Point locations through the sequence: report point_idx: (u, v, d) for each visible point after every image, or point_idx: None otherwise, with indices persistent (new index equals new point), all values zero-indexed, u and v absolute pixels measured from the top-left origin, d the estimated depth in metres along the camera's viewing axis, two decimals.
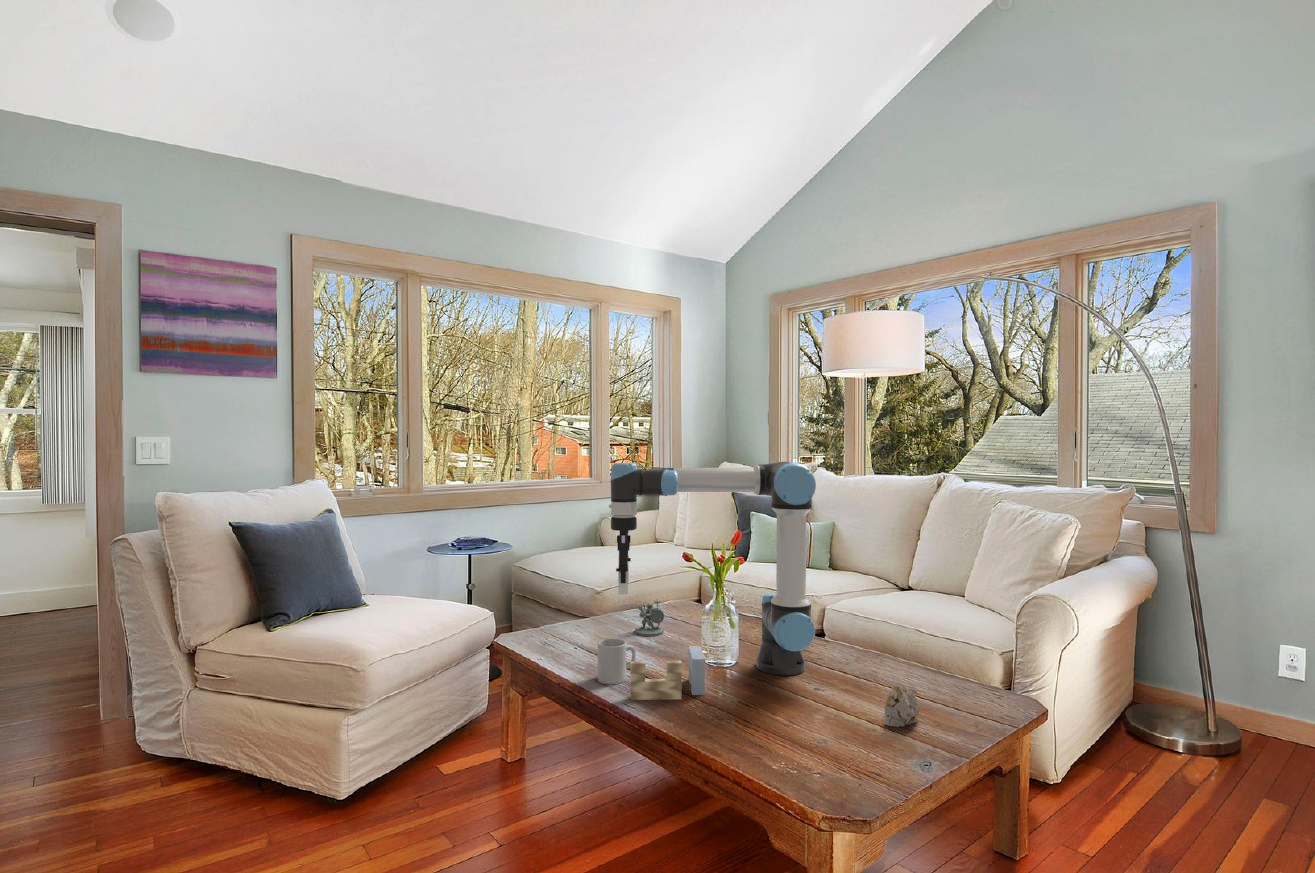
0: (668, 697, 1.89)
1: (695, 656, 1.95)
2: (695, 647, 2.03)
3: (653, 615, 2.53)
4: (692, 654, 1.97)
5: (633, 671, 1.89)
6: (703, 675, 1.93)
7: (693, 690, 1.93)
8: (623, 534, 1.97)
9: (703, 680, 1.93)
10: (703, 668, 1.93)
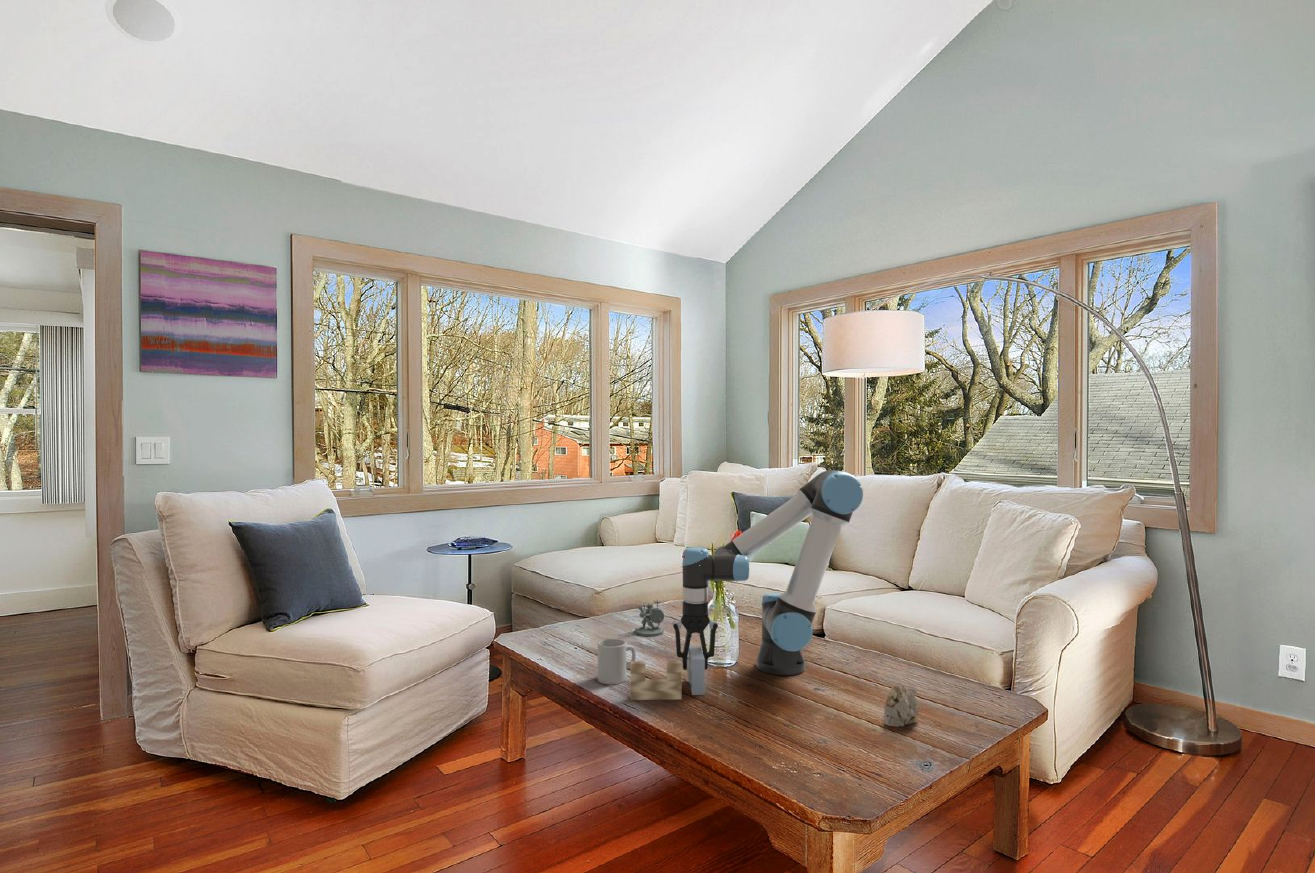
0: (668, 697, 1.89)
1: (695, 656, 1.95)
2: (695, 647, 2.03)
3: (653, 615, 2.53)
4: (692, 654, 1.97)
5: (633, 671, 1.89)
6: (703, 675, 1.93)
7: (693, 690, 1.93)
8: (681, 618, 2.03)
9: (703, 680, 1.93)
10: (703, 668, 1.93)
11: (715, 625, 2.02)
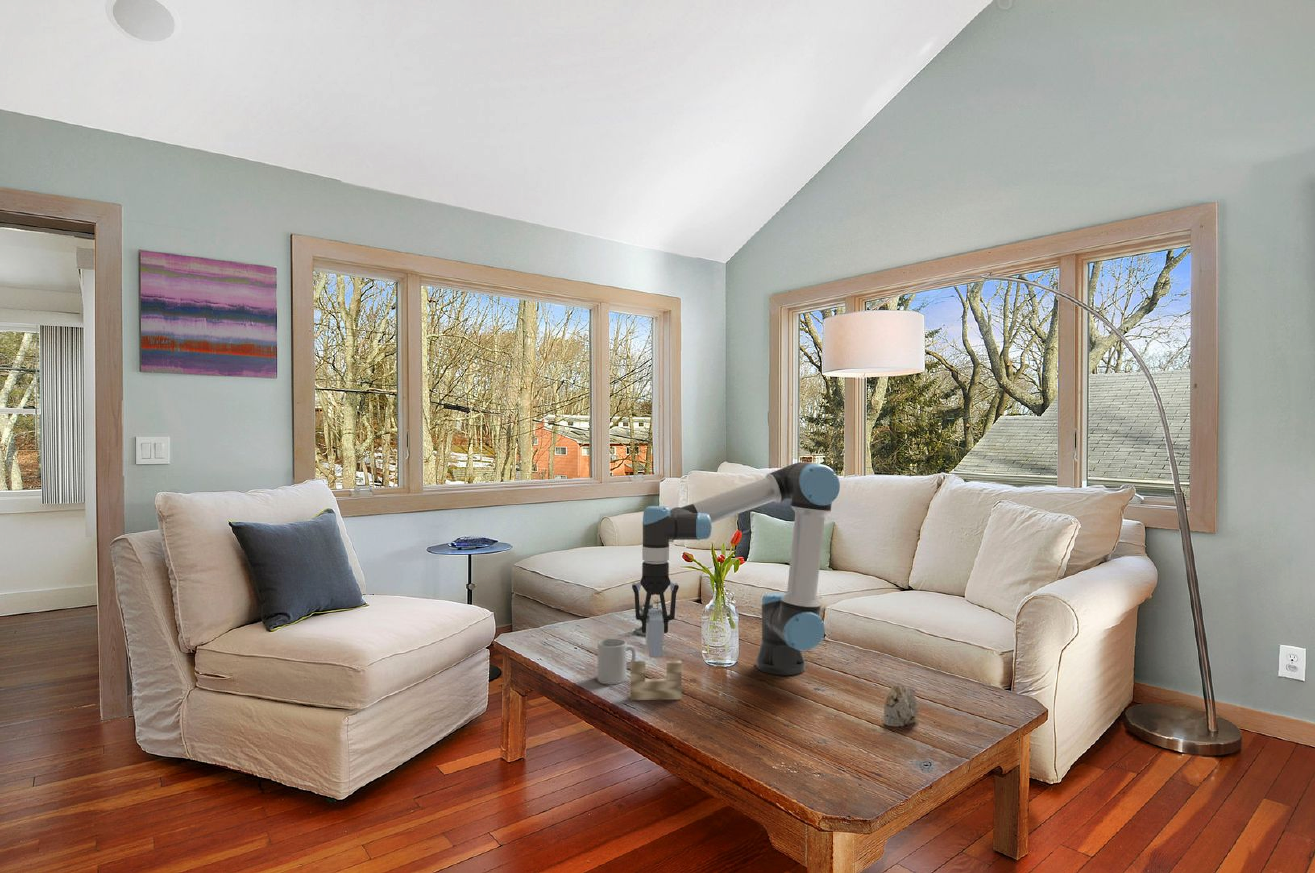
0: (668, 697, 1.89)
1: (653, 618, 1.86)
2: (655, 610, 1.95)
3: None
4: (650, 616, 1.89)
5: (633, 671, 1.89)
6: (661, 637, 1.84)
7: (650, 652, 1.84)
8: (641, 579, 1.94)
9: (661, 642, 1.84)
10: (661, 629, 1.84)
11: (676, 587, 1.93)
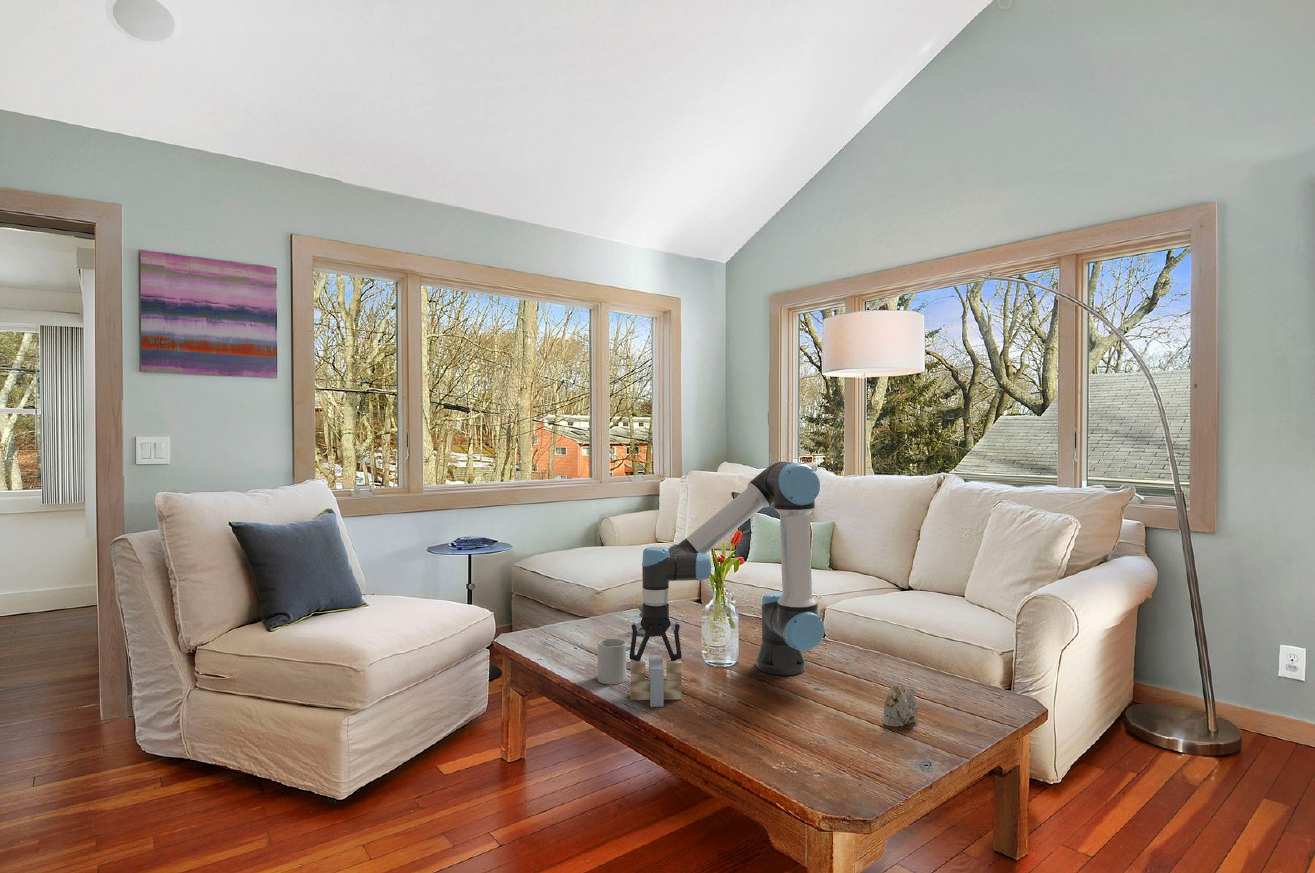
0: (668, 697, 1.89)
1: (654, 666, 1.86)
2: (656, 656, 1.95)
3: None
4: (651, 664, 1.89)
5: (633, 671, 1.89)
6: (662, 686, 1.84)
7: (651, 701, 1.84)
8: (641, 620, 1.94)
9: (662, 691, 1.84)
10: (662, 678, 1.84)
11: (677, 626, 1.93)
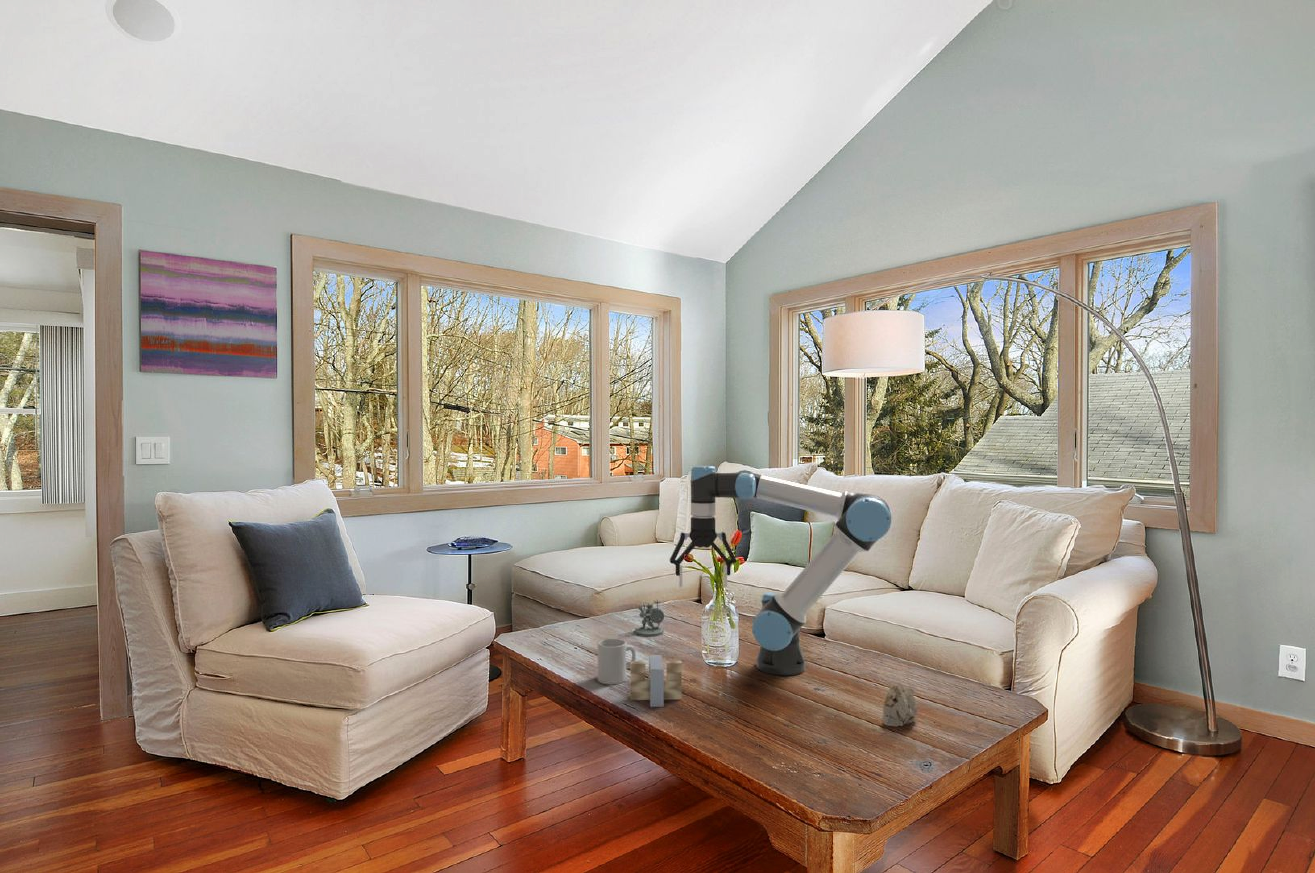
0: (668, 697, 1.89)
1: (654, 666, 1.86)
2: (656, 656, 1.95)
3: (653, 615, 2.53)
4: (651, 664, 1.89)
5: (633, 671, 1.89)
6: (662, 686, 1.84)
7: (651, 701, 1.84)
8: (691, 532, 2.10)
9: (662, 691, 1.84)
10: (662, 678, 1.84)
11: (723, 534, 2.09)
